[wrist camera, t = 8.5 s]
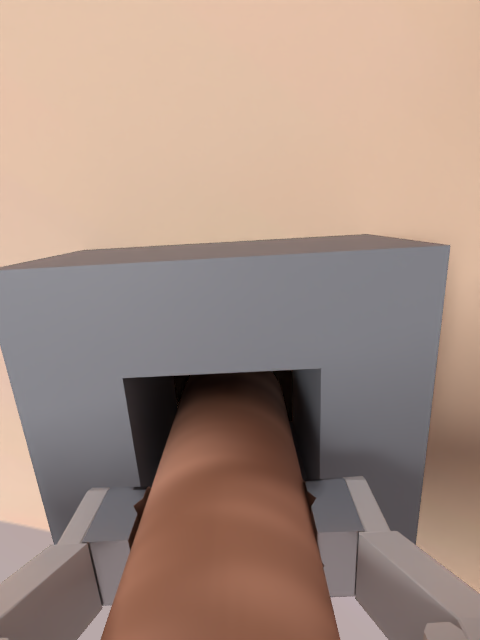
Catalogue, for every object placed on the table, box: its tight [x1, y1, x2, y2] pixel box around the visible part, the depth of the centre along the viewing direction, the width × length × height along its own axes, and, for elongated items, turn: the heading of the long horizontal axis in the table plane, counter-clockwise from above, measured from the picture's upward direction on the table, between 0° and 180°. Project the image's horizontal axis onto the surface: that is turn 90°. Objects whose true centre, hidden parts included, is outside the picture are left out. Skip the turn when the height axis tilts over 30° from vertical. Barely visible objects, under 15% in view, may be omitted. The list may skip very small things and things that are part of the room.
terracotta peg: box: [101, 371, 340, 640], centre depth 8 cm, size 4×4×12 cm
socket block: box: [0, 234, 450, 606], centre depth 13 cm, size 12×12×6 cm
